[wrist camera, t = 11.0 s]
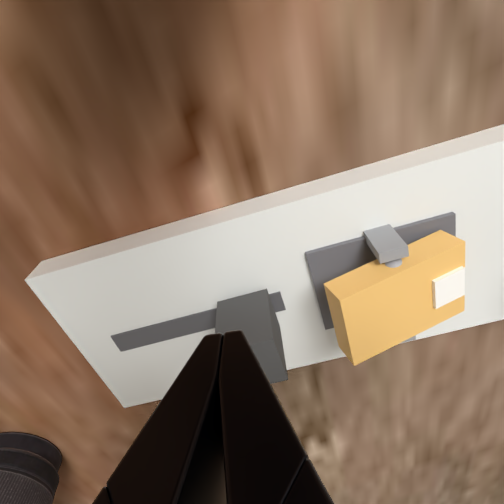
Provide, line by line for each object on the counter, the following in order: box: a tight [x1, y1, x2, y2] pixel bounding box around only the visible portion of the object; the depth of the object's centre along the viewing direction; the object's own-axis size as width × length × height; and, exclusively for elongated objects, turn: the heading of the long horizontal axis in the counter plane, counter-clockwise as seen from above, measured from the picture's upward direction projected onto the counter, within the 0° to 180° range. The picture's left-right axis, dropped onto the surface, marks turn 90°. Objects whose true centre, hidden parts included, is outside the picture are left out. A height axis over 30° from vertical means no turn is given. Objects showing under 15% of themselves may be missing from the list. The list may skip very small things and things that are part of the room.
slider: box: [215, 289, 288, 384], centre depth 19 cm, size 3×3×4 cm
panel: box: [25, 124, 504, 408], centre depth 21 cm, size 12×35×4 cm, turn 107°
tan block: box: [324, 230, 465, 366], centre depth 19 cm, size 5×7×2 cm
